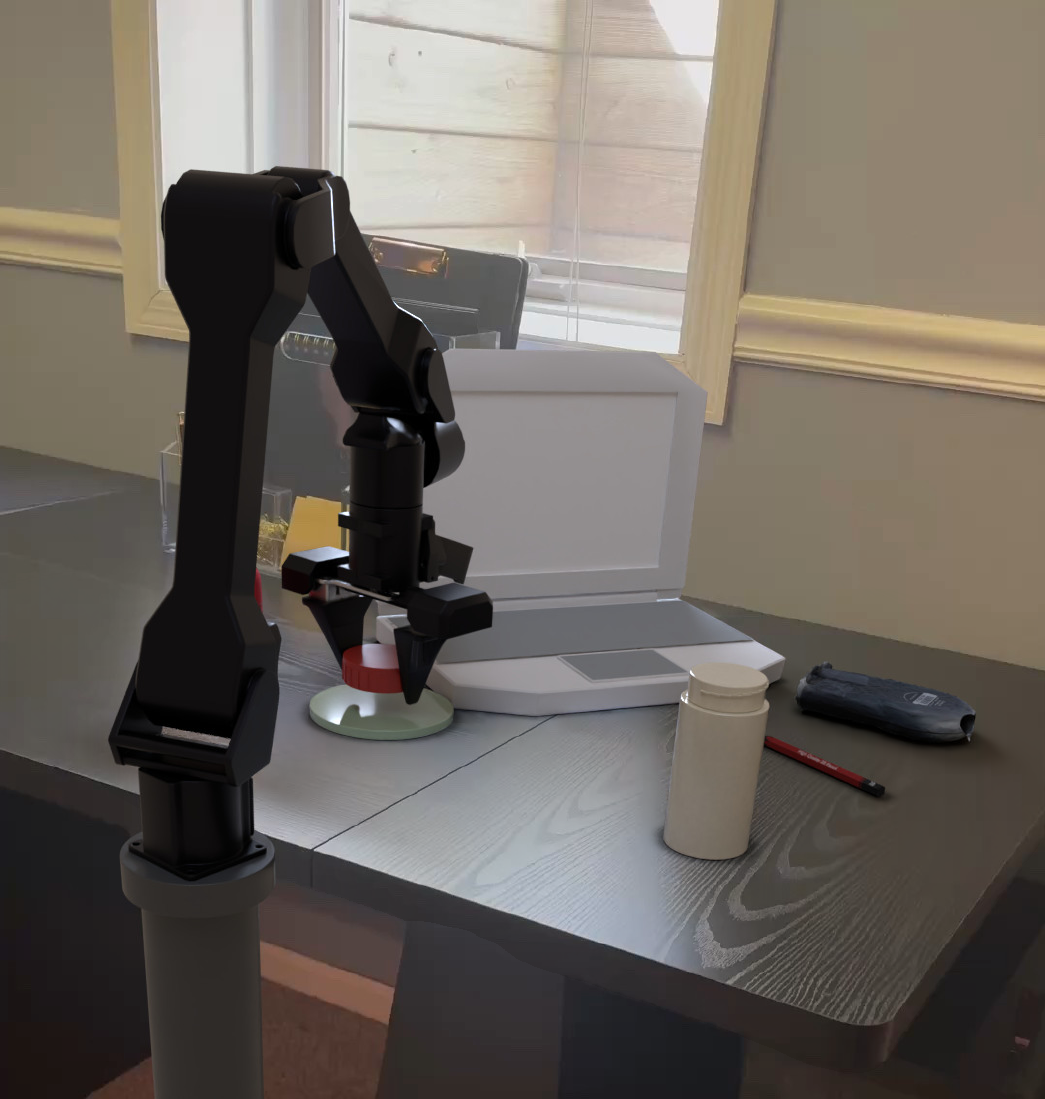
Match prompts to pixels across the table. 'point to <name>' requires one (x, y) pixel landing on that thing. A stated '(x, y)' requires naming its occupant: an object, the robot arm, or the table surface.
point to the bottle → (716, 761)
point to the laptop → (575, 534)
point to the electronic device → (886, 704)
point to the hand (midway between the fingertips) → (382, 693)
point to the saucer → (380, 713)
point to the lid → (372, 668)
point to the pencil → (825, 766)
